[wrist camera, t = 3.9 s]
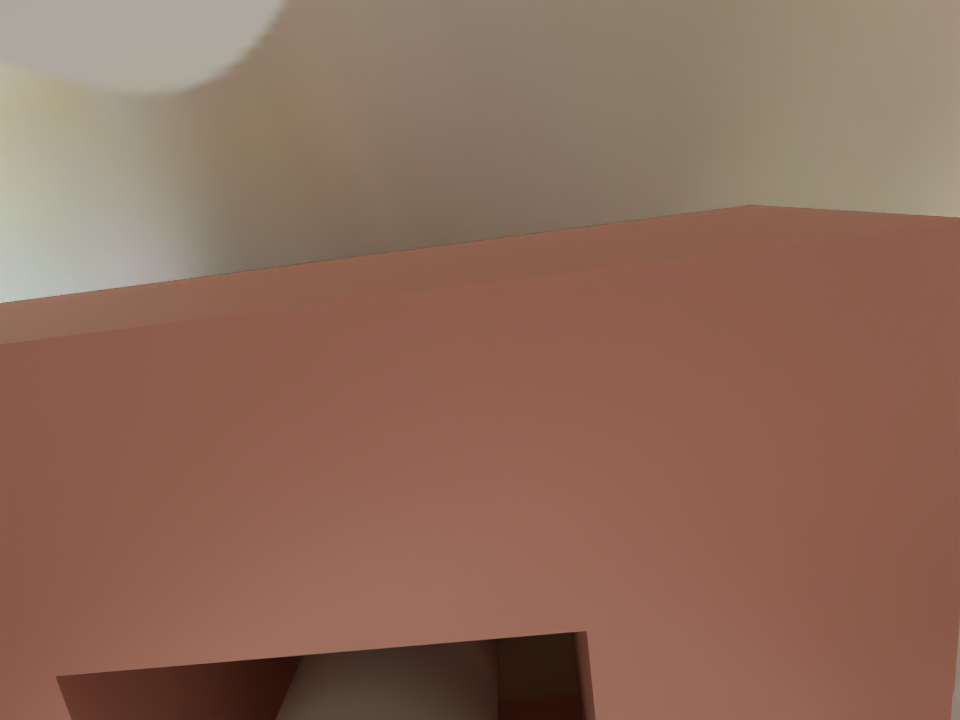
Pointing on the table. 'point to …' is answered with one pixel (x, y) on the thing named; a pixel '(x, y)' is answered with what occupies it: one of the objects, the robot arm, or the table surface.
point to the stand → (430, 679)
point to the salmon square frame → (499, 472)
